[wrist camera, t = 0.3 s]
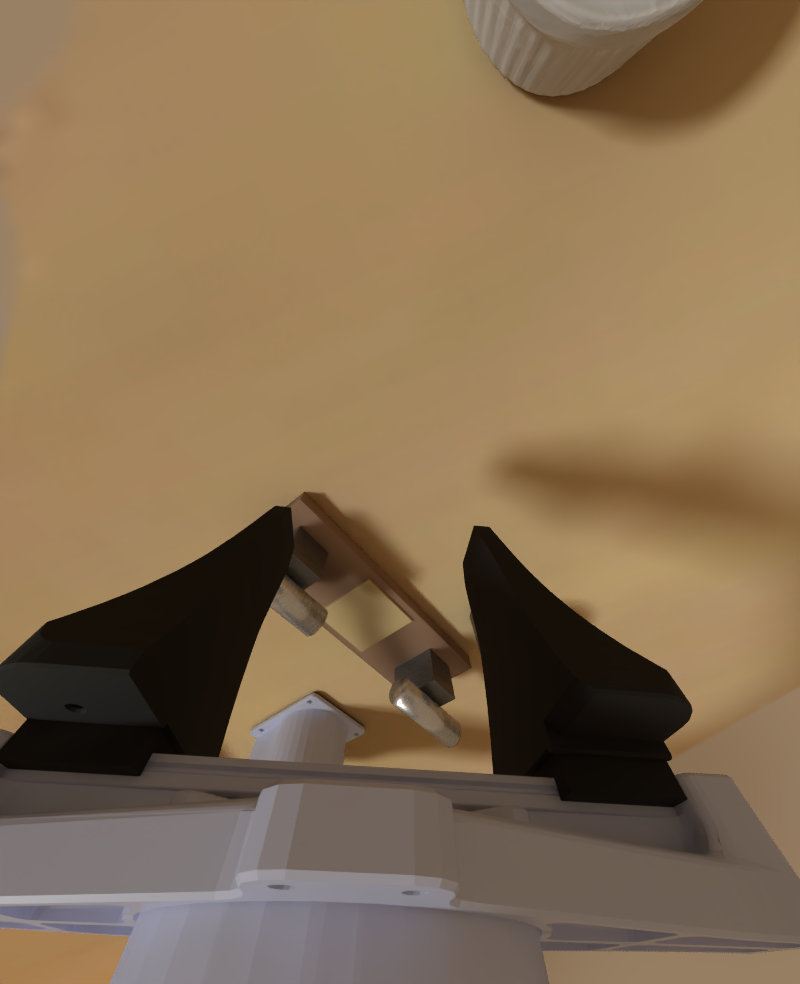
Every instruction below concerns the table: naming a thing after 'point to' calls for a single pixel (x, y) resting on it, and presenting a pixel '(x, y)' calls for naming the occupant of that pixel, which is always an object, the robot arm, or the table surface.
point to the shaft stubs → (416, 680)
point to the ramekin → (568, 37)
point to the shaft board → (369, 602)
